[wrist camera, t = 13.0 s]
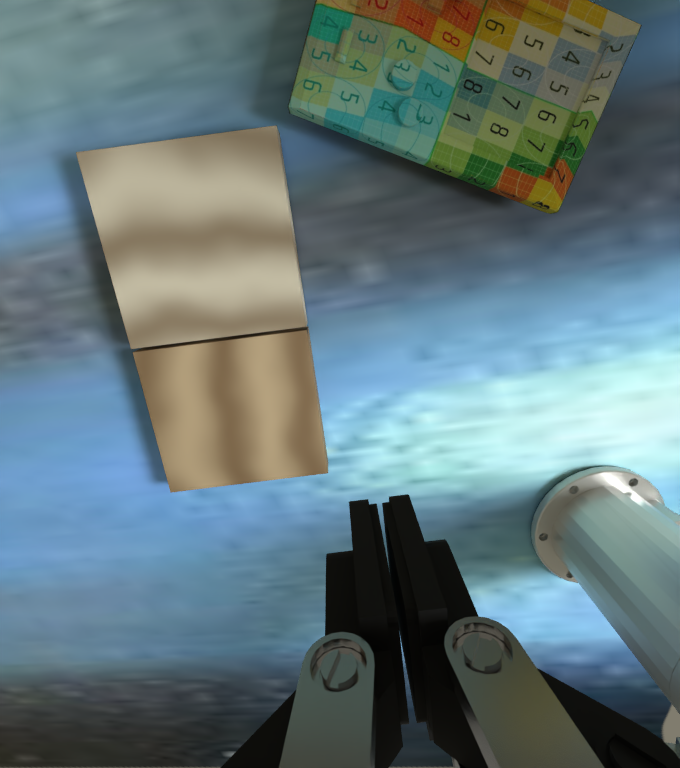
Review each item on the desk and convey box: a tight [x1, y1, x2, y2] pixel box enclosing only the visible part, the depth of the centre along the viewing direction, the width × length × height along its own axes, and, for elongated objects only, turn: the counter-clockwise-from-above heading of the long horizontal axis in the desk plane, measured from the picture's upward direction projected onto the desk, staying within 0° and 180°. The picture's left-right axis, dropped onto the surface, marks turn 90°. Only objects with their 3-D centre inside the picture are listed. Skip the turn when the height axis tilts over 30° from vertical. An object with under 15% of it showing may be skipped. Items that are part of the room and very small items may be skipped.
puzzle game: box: [288, 0, 642, 214], centre depth 28 cm, size 12×5×20 cm
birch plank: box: [76, 126, 307, 349], centre depth 32 cm, size 14×14×2 cm
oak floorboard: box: [133, 326, 328, 492], centre depth 36 cm, size 14×13×2 cm
